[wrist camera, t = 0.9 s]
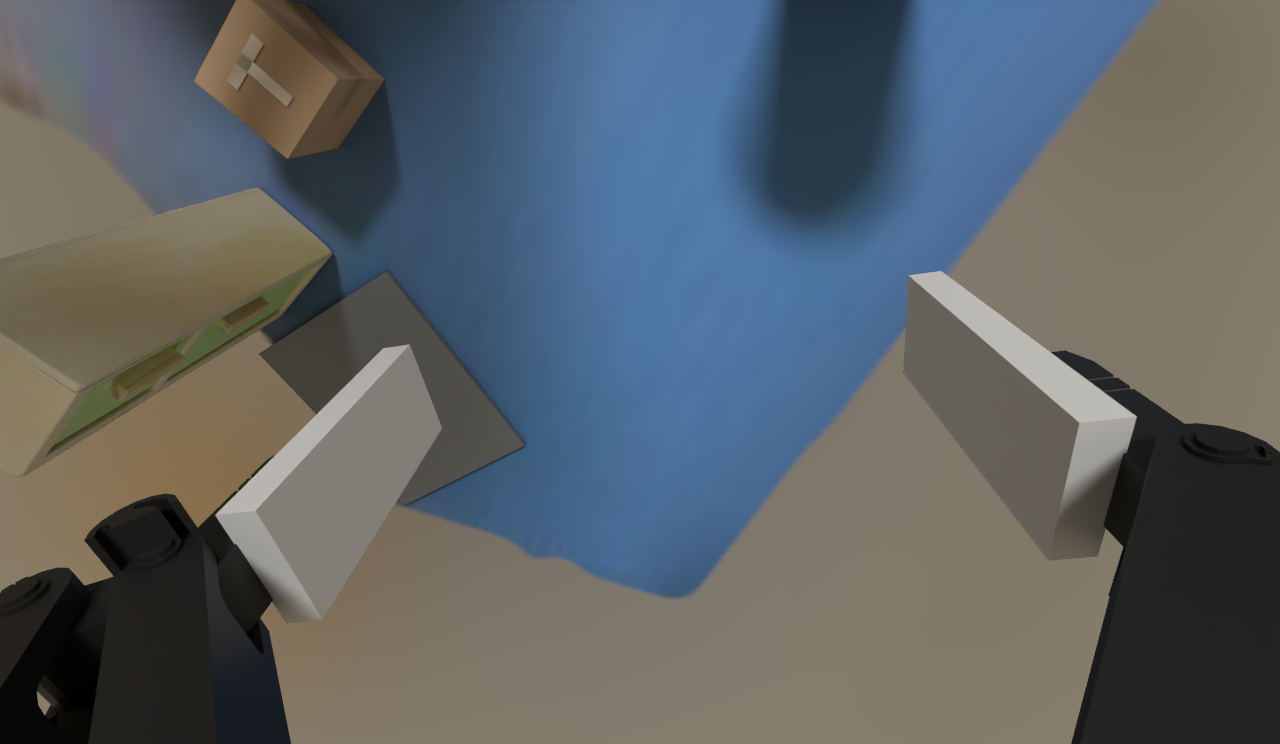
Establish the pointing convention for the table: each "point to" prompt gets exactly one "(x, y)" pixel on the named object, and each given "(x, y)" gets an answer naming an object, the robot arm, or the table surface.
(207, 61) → the letter cube
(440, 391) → the mat
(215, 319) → the light wooden block
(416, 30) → the table surface
